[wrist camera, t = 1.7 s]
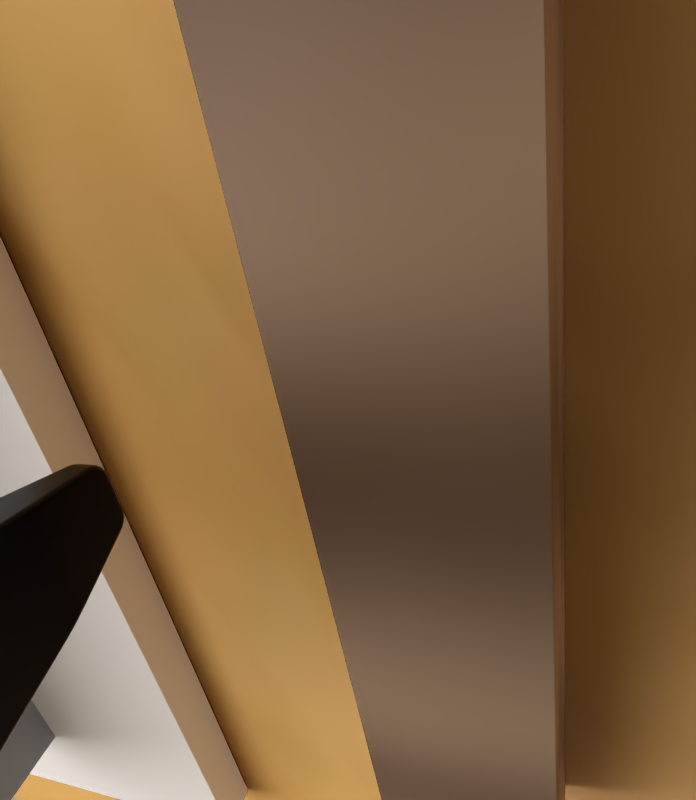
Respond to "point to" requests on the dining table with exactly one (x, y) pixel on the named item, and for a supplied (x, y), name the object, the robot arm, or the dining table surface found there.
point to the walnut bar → (414, 351)
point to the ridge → (99, 622)
